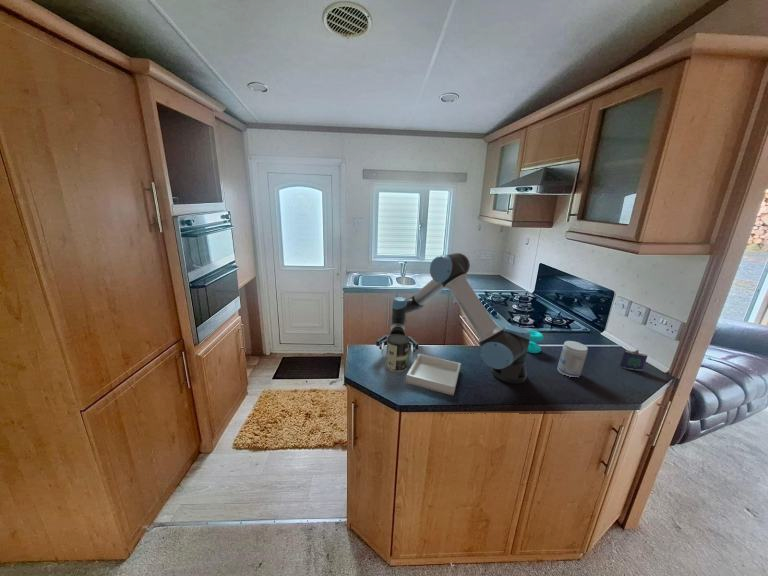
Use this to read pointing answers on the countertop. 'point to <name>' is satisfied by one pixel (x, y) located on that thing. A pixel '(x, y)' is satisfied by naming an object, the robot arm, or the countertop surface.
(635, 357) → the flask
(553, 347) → the countertop surface
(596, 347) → the countertop surface
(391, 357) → the coffee can
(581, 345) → the supplement tub
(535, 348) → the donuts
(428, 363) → the box
